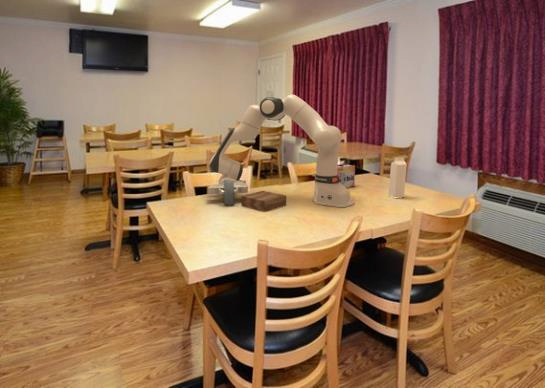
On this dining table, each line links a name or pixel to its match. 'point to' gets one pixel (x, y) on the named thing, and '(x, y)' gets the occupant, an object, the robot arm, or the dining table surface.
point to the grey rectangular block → (229, 193)
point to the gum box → (346, 174)
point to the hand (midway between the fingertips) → (229, 192)
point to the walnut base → (264, 200)
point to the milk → (397, 177)
